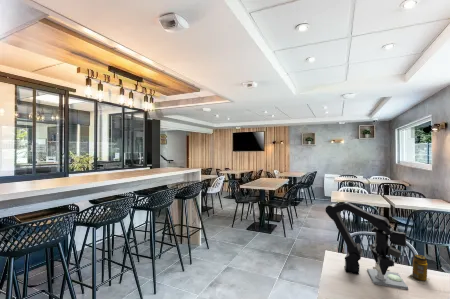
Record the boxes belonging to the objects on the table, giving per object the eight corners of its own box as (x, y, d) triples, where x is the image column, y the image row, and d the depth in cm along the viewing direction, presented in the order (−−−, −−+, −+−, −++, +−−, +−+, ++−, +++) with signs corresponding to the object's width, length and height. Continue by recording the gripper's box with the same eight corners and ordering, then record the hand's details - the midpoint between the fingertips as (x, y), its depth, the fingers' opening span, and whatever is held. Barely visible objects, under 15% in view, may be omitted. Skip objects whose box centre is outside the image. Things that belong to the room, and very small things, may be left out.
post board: (373, 283, 121) (373, 273, 121) (366, 270, 134) (367, 261, 133) (408, 289, 117) (408, 278, 116) (397, 275, 129) (398, 265, 129)
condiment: (429, 279, 125) (430, 257, 125) (424, 284, 121) (425, 262, 120) (413, 272, 131) (414, 252, 131) (407, 277, 127) (408, 256, 126)
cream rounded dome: (374, 271, 123) (374, 265, 123) (371, 266, 128) (371, 260, 128) (390, 273, 121) (390, 267, 121) (387, 268, 126) (387, 262, 126)
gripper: (407, 251, 112) (406, 283, 113) (392, 236, 130) (391, 263, 131) (380, 248, 116) (379, 278, 117) (370, 233, 134) (369, 260, 134)
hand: (380, 269), depth 125 cm, fingers open, 9 cm apart
